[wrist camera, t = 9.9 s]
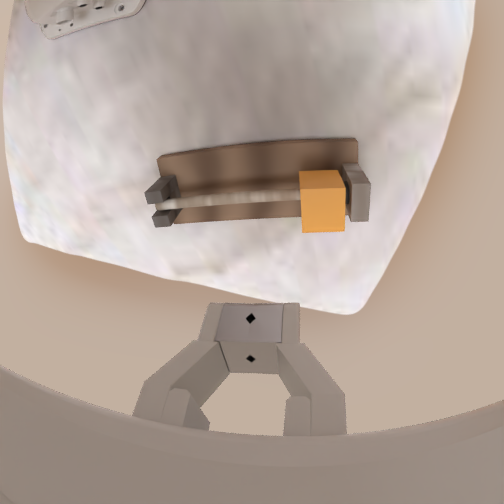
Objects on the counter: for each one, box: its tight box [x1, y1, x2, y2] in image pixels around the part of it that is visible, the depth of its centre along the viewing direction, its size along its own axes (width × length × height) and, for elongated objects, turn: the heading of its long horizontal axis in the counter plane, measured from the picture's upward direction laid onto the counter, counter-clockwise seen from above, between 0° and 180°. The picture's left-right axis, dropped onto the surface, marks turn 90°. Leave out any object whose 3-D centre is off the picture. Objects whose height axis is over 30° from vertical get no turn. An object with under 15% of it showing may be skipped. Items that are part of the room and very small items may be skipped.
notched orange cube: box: [299, 170, 346, 233], centre depth 27 cm, size 4×4×5 cm
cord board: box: [145, 139, 371, 227], centre depth 31 cm, size 23×9×8 cm, turn 97°
